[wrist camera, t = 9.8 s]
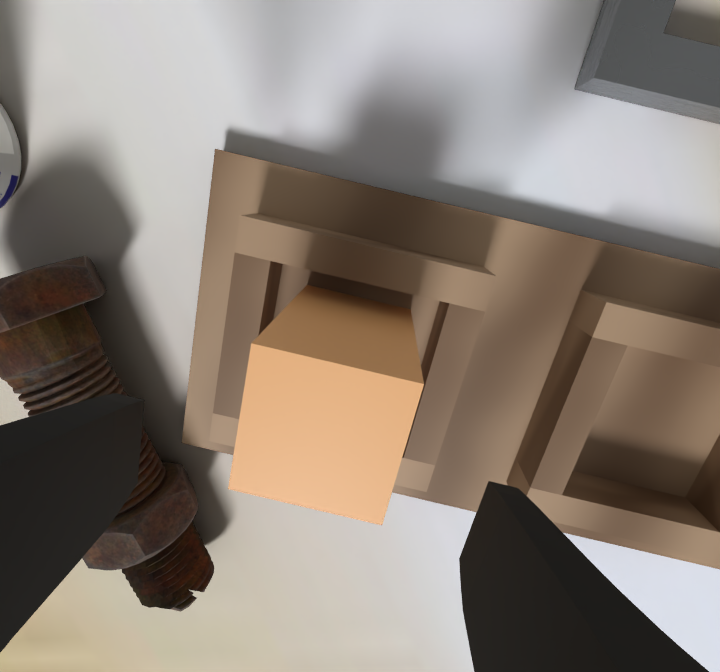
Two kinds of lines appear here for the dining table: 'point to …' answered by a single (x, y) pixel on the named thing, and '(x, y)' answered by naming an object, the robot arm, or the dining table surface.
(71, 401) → the bolt
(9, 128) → the energy drink
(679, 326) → the walnut rack
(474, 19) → the dining table surface
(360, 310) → the orange peg
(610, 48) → the metal socket
